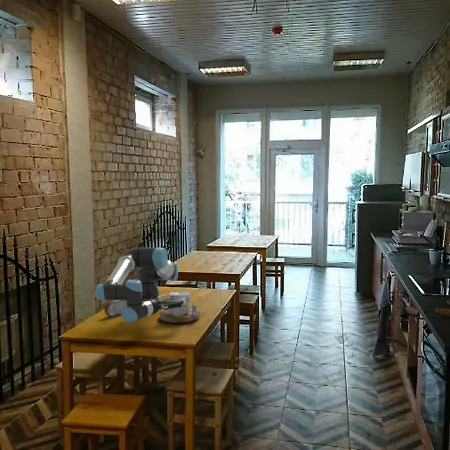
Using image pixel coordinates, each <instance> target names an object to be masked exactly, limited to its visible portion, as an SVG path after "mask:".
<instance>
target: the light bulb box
mask: <svg viewBox="0 0 450 450" xmlns="http://www.w3.org/2000/svg"><path fill="white" fill-rule="evenodd" d="M168 298H169V302H174V301H177V300H180V299H183V298H186V303H184V304H182V307H178V308H172V309H170V314H189V311H190V308H191V307H190V304H191V303H190V301H191V300H190V292H189V291H178V292H177V291H174V292H173V291H171V292H170V293H169V297H168Z"/></svg>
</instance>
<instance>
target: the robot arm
mask: <svg viewBox="0 0 450 450" xmlns="http://www.w3.org/2000/svg"><path fill="white" fill-rule="evenodd" d="M168 257H169V256H168V251H167V250H166V249H165V248H164V247H159V246H158V247H134V248H131V249H129V250H127V251H125V252H124V253H122V255H120V257H119V258H118V260H117V264H116V266H115V268H114V269H113V270H112V272H111V273H110V275H109V277H108V278H107V280H106V281H105V283H99V284H97V285H96V286H95V290H94V293H95V294H94V295H95V298H96V300H99V301H114V300H126V306H127V307H125V308H124V309H123V310H122V314H121V318H122V320H123V321H124V322H125V323H130V324H131V323H133V322H137V321H139V320H141V319H146V318H147V317H150V316H152V315H155V314H158V312H159V310H162V309H163V310H167V309H172V308H178V307H182V304H184V303H186V298H183V299H180V300H177V301H174V302H170V301H166V300H167V294H165V293H164V294H162V295H160V291H159V288H158V284H157V281H177V279H178V277H179V276H178V275H179V263H178V261H177V262H176V261H171V260H168V259H169V258H168ZM134 269H137V279H128V280H126V278H127V277H128V275H129V273H130V272H133V270H134ZM125 280H126V282H125ZM124 282H125V284H124ZM143 299H147V300H144V301H143Z"/></svg>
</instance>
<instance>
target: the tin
mask: <svg viewBox="0 0 450 450" xmlns="http://www.w3.org/2000/svg"><path fill="white" fill-rule="evenodd" d="M125 307H127V306H126V300H109V301H108V302H107V303H106V304H105V305H104V314H105V315H106V316H109V317H112V318H113V317H116V316H119V315H122V310H123V309H124V308H125Z"/></svg>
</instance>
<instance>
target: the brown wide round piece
mask: <svg viewBox="0 0 450 450" xmlns="http://www.w3.org/2000/svg"><path fill="white" fill-rule="evenodd" d="M200 314H201V313H200V311H199V309H198V307H197V304H196V303H195V304H192V305H191V307H190V311H189V314H170V309H167V310H164V309H163V310H162V309H161V311H160V312H159V316H158V318H159V320H161V321H163V322H167V323H173V324H175V323H176V324H177V323H178V324H180V323H188V322H189V323H190V322H193V321H196V320H198V319H199V318H200V316H201V315H200Z"/></svg>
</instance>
